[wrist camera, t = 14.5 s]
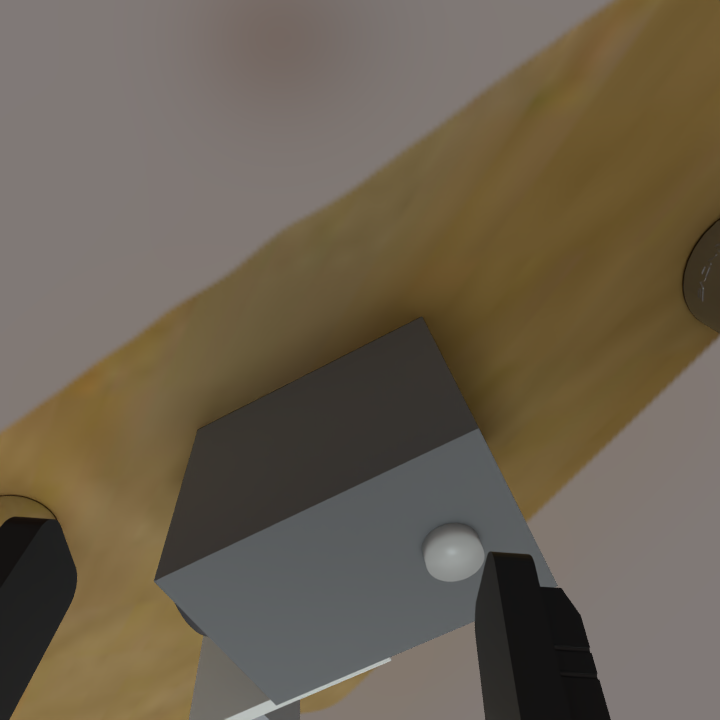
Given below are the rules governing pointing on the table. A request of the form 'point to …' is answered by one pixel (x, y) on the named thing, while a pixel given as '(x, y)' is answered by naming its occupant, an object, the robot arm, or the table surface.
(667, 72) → the table surface
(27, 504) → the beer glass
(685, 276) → the robot arm
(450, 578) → the box
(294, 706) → the side door
